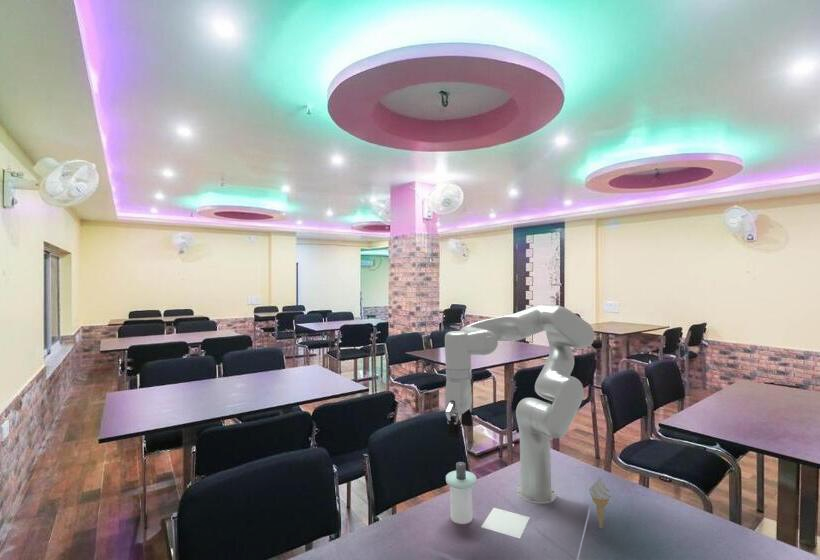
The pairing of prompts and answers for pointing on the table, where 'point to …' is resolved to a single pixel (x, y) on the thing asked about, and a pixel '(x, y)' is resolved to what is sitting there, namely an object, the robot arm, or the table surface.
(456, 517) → the can
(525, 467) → the robot arm
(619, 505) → the table surface
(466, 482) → the lid
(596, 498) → the ice cream cone
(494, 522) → the mat
